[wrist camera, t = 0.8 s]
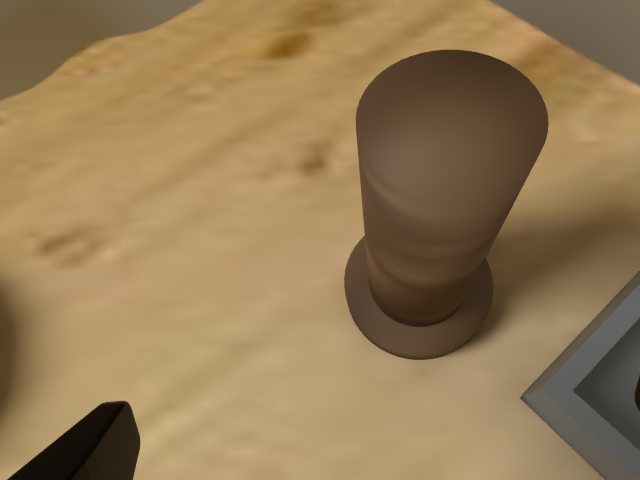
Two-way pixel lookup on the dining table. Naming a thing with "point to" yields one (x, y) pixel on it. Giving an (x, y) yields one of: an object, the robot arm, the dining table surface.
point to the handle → (437, 195)
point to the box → (598, 389)
